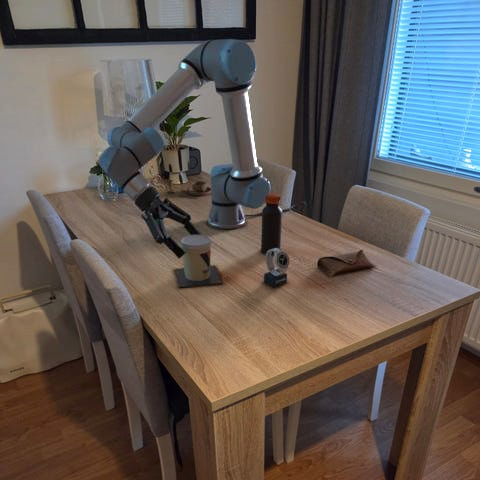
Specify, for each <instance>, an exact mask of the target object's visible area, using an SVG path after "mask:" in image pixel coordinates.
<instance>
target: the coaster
mask: <svg viewBox="0 0 480 480" xmlns="http://www.w3.org/2000/svg"><path fill="white" fill-rule="evenodd" d="M175 275H176V279H177V284H178V288H179V289H185V288H186V289H187V288H196V287H197V288H198V287H205V286H207V287H208V286H218V285H222V281H221V278H220V275H219V273H218V270H217V267H216V265H214V264H213V265H210V276H209V277H208V278H207V279H205V280H201V281H192V280H189V279H187V278H186V276H185V271H184V267H180V268H175Z"/></svg>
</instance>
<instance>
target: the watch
mask: <svg viewBox="0 0 480 480" xmlns="http://www.w3.org/2000/svg"><path fill="white" fill-rule="evenodd" d="M272 251H274V252H275V253H274V255H271V254H272ZM273 256H274V258H273ZM265 264H266V268H267V270H268V272H265V273H264V274H263V284H265V285H267V286H269V287H270V288H272V289H274V288H278V287H279V286H282V285H285V284H287V282H288V273H287V270H288V268H289V265H290V257H289V255H288V253H286V252H285V251H284V250H282V249H281V248H280V249H279V248H274V249H271V250H268V251H267V253H266V254H265ZM275 266H276V267H277V269H276V268H275Z"/></svg>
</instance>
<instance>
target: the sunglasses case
mask: <svg viewBox="0 0 480 480" xmlns="http://www.w3.org/2000/svg"><path fill="white" fill-rule="evenodd" d="M316 264H317V265H316V266H317V268H318V270H320V271H321V272H322V273H323V274H325V275H327V276H329V277H334V276H337V275H341V274H347V273H352V272H357V271H362V270H366V269H367V270H368V269H370V268H374V267H375V265H373V264H372V262H371V261H370V260H369V258H368V257H367V255H366V254H365V253H364V250H363V249H360V250H357V251H351V252H345V253H340V254H334V255H328V256H323V257H320V258H318V259H317V263H316Z"/></svg>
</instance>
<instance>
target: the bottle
mask: <svg viewBox="0 0 480 480" xmlns="http://www.w3.org/2000/svg"><path fill="white" fill-rule="evenodd" d="M280 204H281V194H278V193H270V194H267V195H266V198H265V206H264V207H263V208H262V211H261V213H262V215H261V237H260V238H261V239H260V251H261V253H262V254H264V255H266V253H267V251H268V250H271V249H274V248H279V249H281V241H282V224H283V223H282V222H283V212H282V210H283V209H282V208H281V207H280ZM274 253H275V252H274V251H272V254H271V256H274Z"/></svg>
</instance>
